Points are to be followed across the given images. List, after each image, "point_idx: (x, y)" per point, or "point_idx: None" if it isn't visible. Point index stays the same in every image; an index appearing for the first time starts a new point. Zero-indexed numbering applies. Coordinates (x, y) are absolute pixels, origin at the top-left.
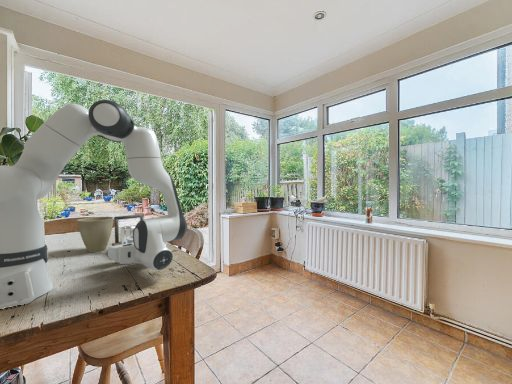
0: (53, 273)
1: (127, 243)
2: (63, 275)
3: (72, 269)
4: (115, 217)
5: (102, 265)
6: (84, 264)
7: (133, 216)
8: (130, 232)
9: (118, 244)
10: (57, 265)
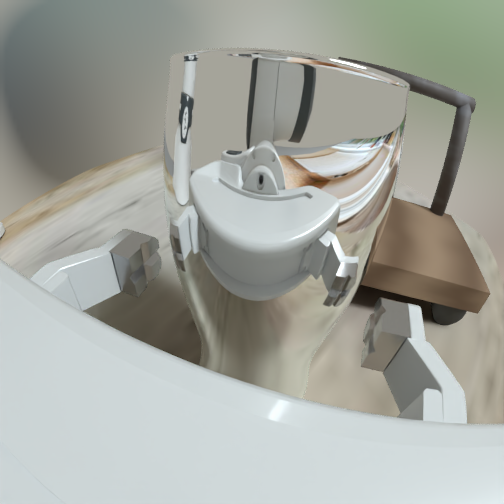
0: (65, 225)
1: (61, 321)
2: (42, 255)
3: (95, 238)
4: (341, 59)
5: (148, 290)
6: (148, 232)
7: (427, 85)
8: (205, 125)
9: (127, 236)
10: (131, 193)
